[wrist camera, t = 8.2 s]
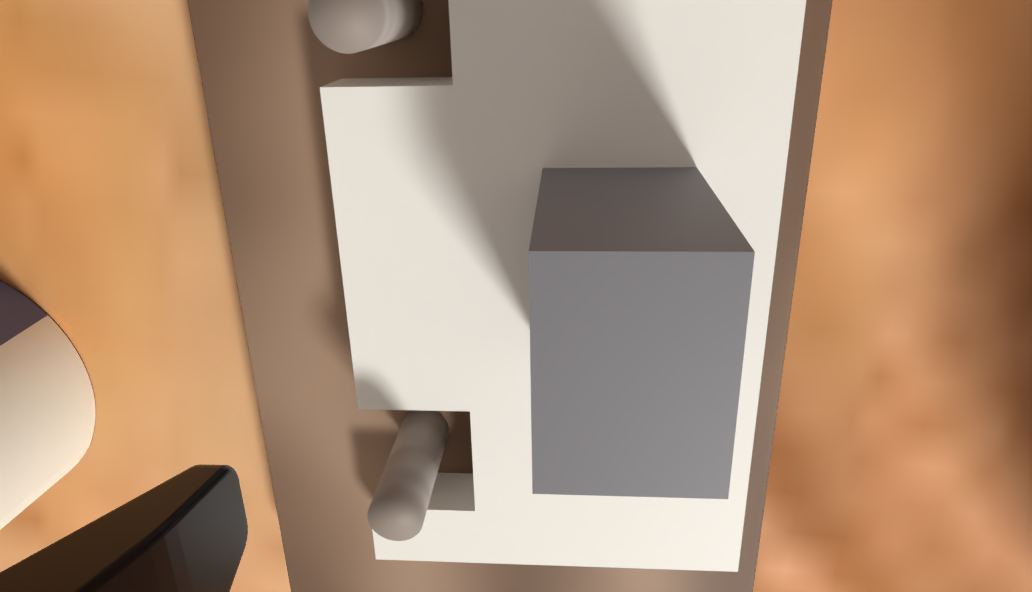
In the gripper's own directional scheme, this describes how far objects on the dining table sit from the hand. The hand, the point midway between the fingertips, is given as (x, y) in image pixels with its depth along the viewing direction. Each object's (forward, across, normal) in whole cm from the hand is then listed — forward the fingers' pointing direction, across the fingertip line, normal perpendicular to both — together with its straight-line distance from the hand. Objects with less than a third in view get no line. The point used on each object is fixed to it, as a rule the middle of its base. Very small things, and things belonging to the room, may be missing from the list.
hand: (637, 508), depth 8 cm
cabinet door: (+9, +1, 0) cm, 9 cm away
